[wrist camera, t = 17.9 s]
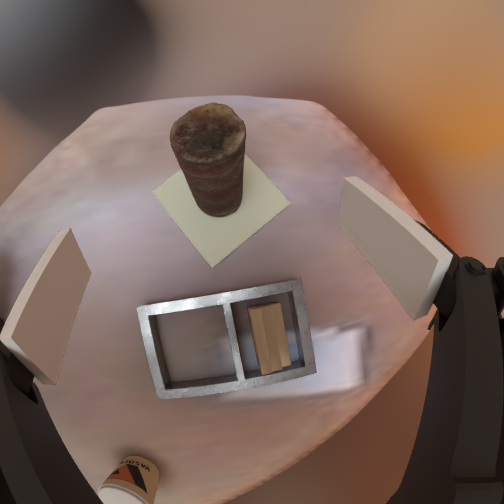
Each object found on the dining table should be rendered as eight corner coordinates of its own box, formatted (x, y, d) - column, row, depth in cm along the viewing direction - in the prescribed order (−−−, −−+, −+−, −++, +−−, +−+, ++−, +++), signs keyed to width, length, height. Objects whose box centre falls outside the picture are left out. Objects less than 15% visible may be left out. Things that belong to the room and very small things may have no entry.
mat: (152, 193, 42) (151, 192, 41) (227, 137, 44) (227, 136, 44) (212, 268, 41) (212, 268, 41) (290, 204, 43) (290, 203, 43)
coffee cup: (160, 456, 36) (144, 494, 24) (167, 488, 34) (155, 526, 23) (114, 447, 35) (89, 480, 23) (123, 480, 34) (104, 513, 22)
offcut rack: (163, 391, 38) (158, 399, 34) (143, 305, 40) (136, 306, 36) (310, 366, 40) (316, 372, 37) (295, 279, 42) (300, 278, 38)
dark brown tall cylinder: (200, 225, 41) (174, 170, 21) (189, 182, 42) (163, 107, 22) (247, 212, 42) (261, 149, 22) (235, 171, 43) (240, 90, 23)
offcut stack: (257, 362, 40) (262, 374, 33) (247, 306, 41) (249, 310, 34) (284, 356, 40) (293, 367, 34) (274, 301, 41) (282, 303, 35)
